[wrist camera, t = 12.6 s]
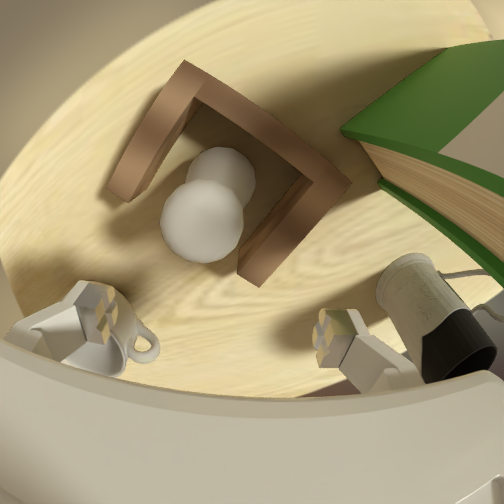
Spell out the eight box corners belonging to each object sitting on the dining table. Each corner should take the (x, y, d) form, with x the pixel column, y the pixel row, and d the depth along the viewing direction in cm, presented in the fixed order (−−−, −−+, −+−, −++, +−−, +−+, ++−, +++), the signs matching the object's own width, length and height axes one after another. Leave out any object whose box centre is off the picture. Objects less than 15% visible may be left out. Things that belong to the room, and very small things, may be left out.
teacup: (76, 318, 33) (51, 357, 26) (72, 256, 29) (37, 293, 21) (164, 351, 35) (150, 398, 28) (176, 293, 31) (158, 343, 24)
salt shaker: (204, 212, 26) (168, 293, 15) (183, 157, 24) (121, 198, 12) (264, 194, 25) (273, 265, 14) (244, 135, 23) (235, 153, 11)
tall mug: (363, 284, 30) (416, 389, 17) (453, 211, 26) (541, 278, 12) (391, 323, 33) (434, 413, 20) (469, 259, 29) (535, 329, 15)
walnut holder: (258, 262, 29) (258, 287, 25) (127, 176, 24) (106, 188, 20) (336, 171, 24) (352, 182, 20) (196, 69, 20) (184, 59, 16)
